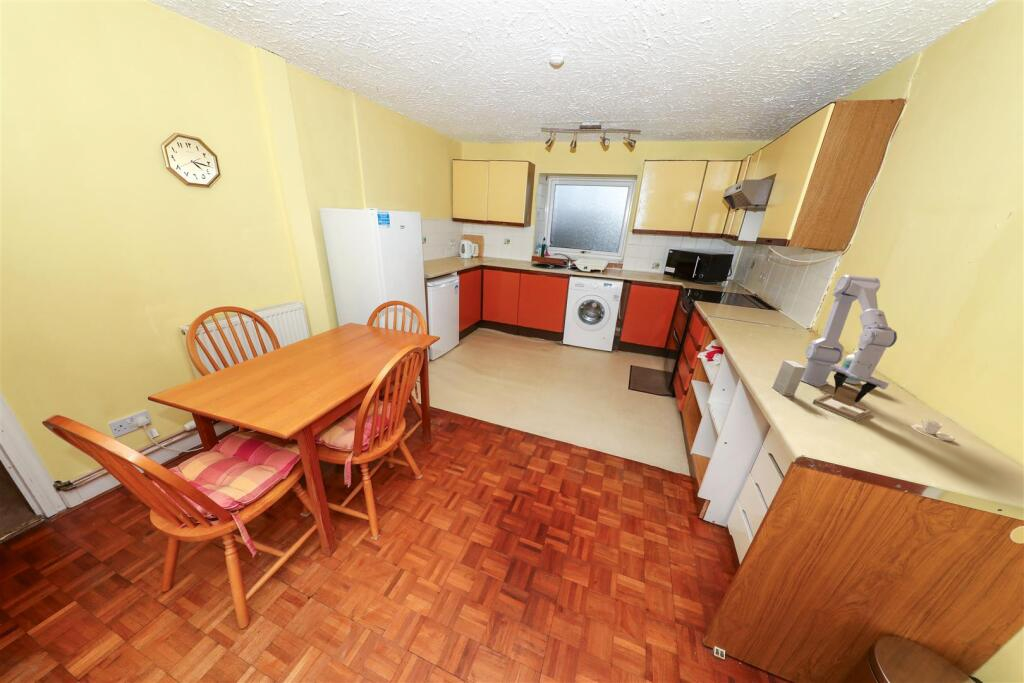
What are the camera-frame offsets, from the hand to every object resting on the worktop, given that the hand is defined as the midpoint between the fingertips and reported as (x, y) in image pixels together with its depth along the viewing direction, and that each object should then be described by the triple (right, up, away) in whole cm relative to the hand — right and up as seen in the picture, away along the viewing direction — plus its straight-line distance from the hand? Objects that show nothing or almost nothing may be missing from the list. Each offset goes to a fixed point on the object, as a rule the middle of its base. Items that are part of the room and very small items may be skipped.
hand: (846, 397), depth 114 cm
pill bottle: (+26, +3, +25) cm, 35 cm away
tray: (0, -4, +2) cm, 5 cm away
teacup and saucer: (+16, -11, -10) cm, 22 cm away
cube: (0, -2, +1) cm, 2 cm away
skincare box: (-14, 0, +11) cm, 17 cm away
